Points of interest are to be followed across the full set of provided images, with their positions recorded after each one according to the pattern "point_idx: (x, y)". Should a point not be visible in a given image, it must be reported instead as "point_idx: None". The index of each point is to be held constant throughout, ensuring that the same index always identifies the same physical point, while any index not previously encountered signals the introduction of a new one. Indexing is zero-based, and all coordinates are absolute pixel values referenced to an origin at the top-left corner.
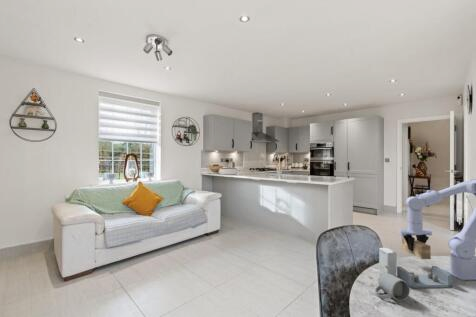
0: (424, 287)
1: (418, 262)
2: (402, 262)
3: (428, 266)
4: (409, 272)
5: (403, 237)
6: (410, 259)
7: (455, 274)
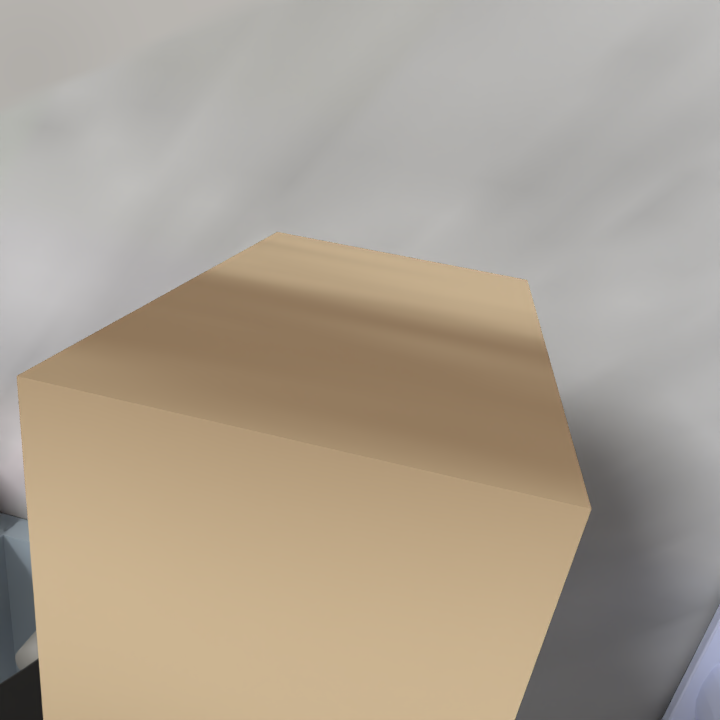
0: None
1: (671, 237)
2: (371, 171)
3: (671, 402)
4: (17, 652)
5: (31, 494)
6: (661, 76)
7: (698, 714)
